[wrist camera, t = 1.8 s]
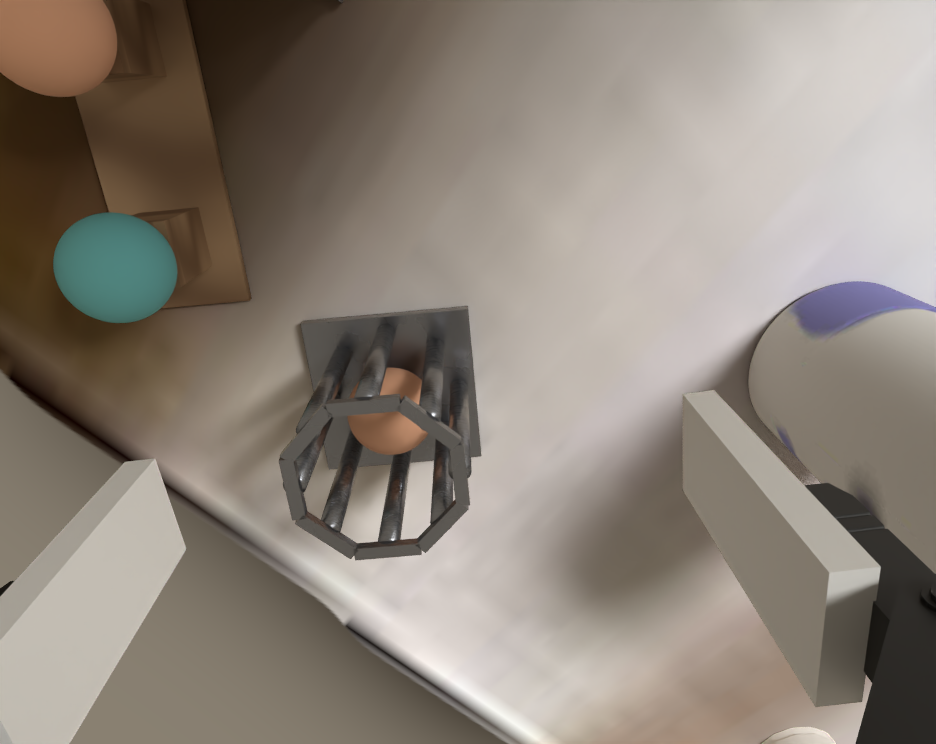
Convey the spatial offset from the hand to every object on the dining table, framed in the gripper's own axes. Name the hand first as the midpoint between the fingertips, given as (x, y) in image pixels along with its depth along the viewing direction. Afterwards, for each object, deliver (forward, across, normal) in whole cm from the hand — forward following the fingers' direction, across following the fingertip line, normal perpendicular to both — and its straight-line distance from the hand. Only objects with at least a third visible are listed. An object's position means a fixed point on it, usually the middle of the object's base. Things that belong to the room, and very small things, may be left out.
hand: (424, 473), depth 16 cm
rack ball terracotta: (+13, -13, +13) cm, 22 cm away
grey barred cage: (+20, -3, -6) cm, 21 cm away
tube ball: (+17, -3, -6) cm, 18 cm away
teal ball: (+13, -13, +4) cm, 19 cm away
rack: (+20, -13, +8) cm, 25 cm away
